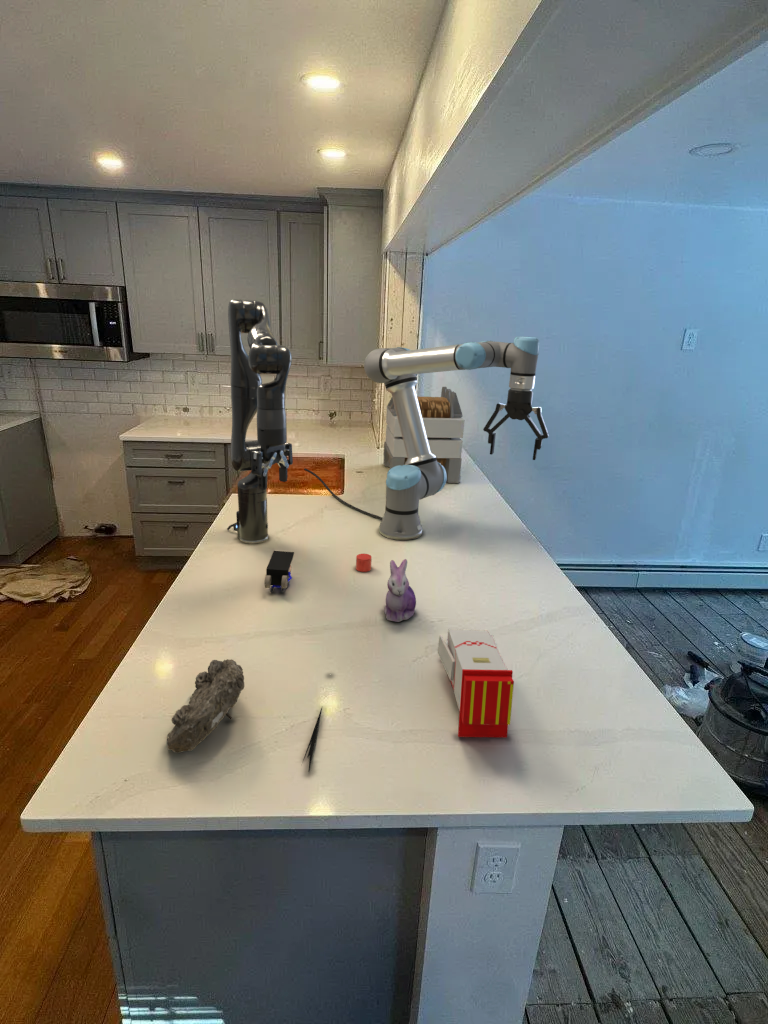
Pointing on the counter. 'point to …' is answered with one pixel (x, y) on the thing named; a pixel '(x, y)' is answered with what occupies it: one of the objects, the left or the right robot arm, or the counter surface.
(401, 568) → the figurine
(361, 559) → the cylinder
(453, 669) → the toy
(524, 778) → the counter surface
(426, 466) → the right robot arm
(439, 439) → the white wooden crate
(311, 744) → the feather
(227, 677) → the fossil
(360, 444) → the counter surface
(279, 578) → the black rover
